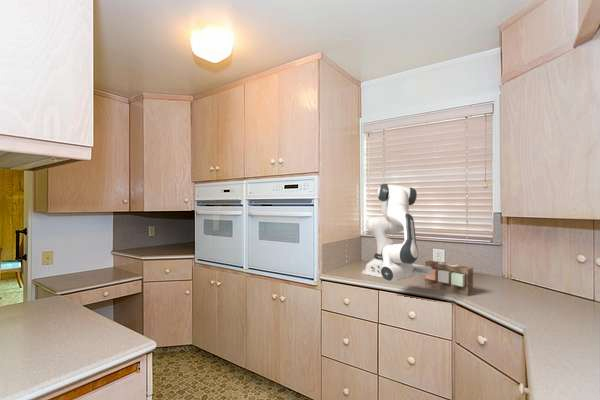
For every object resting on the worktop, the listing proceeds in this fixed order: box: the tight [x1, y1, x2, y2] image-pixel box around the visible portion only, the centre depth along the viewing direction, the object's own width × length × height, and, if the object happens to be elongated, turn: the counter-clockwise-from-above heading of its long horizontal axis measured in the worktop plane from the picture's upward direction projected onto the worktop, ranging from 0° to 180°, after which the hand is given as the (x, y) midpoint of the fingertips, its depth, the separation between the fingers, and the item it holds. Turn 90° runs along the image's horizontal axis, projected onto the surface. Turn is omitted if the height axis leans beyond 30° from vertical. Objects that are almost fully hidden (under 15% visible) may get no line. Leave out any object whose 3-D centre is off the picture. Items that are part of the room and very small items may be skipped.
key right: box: [451, 272, 466, 287], centre depth 166 cm, size 6×4×6 cm
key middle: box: [438, 269, 452, 283], centre depth 172 cm, size 6×4×6 cm
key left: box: [424, 267, 438, 280], centre depth 178 cm, size 6×4×6 cm
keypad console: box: [424, 260, 474, 297], centre depth 174 cm, size 24×6×15 cm, turn 37°
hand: (420, 266), depth 170 cm, fingers closed
